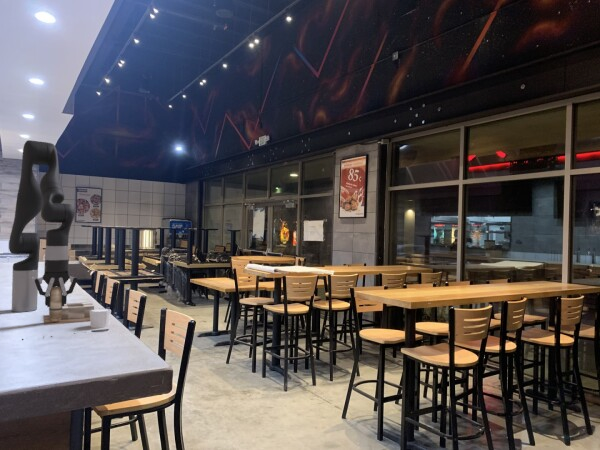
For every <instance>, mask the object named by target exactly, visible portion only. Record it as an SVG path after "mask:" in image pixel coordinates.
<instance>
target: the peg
mask: <svg viewBox="0 0 600 450" xmlns="http://www.w3.org/2000/svg"><path fill="white" fill-rule="evenodd" d="M62 295H63V293H62V289H61V287H57V286H56V287H52V288H51V291H50V294H49V296H50V307H48V311H49V312H48V315H49V317H50V321H51V322H56V321H60V320H61V316H62Z"/></svg>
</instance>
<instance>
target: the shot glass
mask: <svg viewBox="0 0 600 450" xmlns="http://www.w3.org/2000/svg"><path fill="white" fill-rule="evenodd" d="M111 313H112V310H111V309H110V308H94V310H90V321H89V322H90V328H92V330H90V332H91V333H103V332H108V331H109V330H110V329H109V328H108V327H109V326H110V324H111V323H110V321H111ZM100 328H101V329H100ZM93 329H95V330H93Z"/></svg>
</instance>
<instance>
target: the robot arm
mask: <svg viewBox="0 0 600 450" xmlns="http://www.w3.org/2000/svg"><path fill="white" fill-rule="evenodd" d="M58 155H59V154H58V151H57V148H56V146H55V144H54V143H51V142H45V141H37V140H26V141H25V142H24V144H23V149H22V157H21V158H22V159H21V172H20V178H19V179H20V180H19V185H18V191H17V195H16V202H15V203H16V204H15V209H14V210H15V211H14V219H13V224H12V227H11V230H10V236H9V239H8V240H9V241H8V250H9V252H10V253H11V254H13V255H28V256H27V257H26V258H25V259H23V260H20V261H17V262H15V263H13V265H12V283H11V284H12V285H11V287H12V289H11V312H16V313H17V312H18V313H19V312H20V313H21V312H25V313H26V312H31V311H32V312H33V311H37V310H38V294H39V295H40V296H43V297H44V302H45V303H44V304H45V306H47V308H49V307H50V291H51V288H52V287H61V289H62V306H64V304H66V303H67V297H68V295H71V294H72V293H73V292H74V289H75V286H76V284H77V281H78V277H77V276H71V275H70V274H69V266H70V265H69V264H70V263H69V262H70V261H69V260H70V249H69V235H70V231H71V228H72V224H73V222H74V218H75V216H76V211H75V210H76V209H75V208H74V206H73V205H72V204H70V203H63V202H64V200H65V193H64V190H63V187H62V183H61V178H60V167H59V157H58ZM34 165H36V166H44V167H45V166H46V167H48V169H47V171H46V172H45V173H44V175H42V178H41V179H40V182H38V181H37V178H36V176H35V174H34V171H33V166H34ZM39 213H40V216H41V218H42V220H43V221H44V222H46V223H59V224H60V223H61V225H60V226H59V227H57V228H53V229H48V230H47V231H46V235H45V236H46V238H45V250H44V273H43V275H42V276H41V277H39V261H40V260H39V258H40V247H41V238H40V234H39V233H37V232H23V231H24V229H25V228H26V226H27V225H29V223H30V222H31V221H32V220H34V219H35V218H36V217H37V216H38V215H39ZM43 281H44V282H45V283H46V284H47V287H46V290H45V291H43V287H42V285H41V284H42V283H43ZM68 281H69V282H70V285H69V288H68V290H67V289H66V286H65V284H66V283H67V282H68Z"/></svg>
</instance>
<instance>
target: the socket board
mask: <svg viewBox="0 0 600 450" xmlns="http://www.w3.org/2000/svg"><path fill="white" fill-rule="evenodd" d="M94 309H95V305H93V302H91V301H85V302H71V303H70V302H68V303H67V302H66V304H64V306H62V316H61V320H60V321H56V322H51V321H50V317H49V314H43V316H42V319H43V325H44V326H53V325H62V324H63V325H65V324H75V323H76V324H77V323H85V322H86V323H87V322H90V310H94Z"/></svg>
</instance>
